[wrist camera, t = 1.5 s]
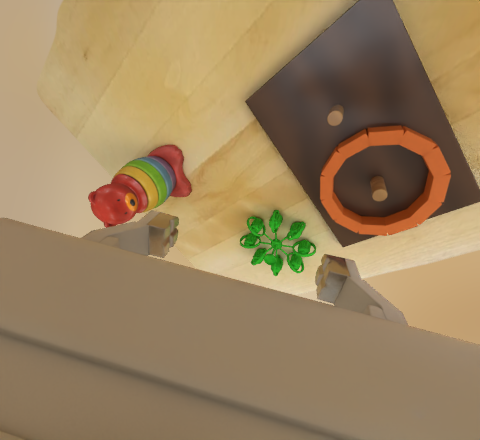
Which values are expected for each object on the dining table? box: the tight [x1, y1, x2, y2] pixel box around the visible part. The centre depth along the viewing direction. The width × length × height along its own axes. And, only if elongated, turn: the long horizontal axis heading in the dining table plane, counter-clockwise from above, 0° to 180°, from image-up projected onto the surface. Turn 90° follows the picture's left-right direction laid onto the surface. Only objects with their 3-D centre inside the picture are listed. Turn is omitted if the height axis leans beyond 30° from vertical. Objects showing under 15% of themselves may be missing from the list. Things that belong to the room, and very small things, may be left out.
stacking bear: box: [88, 145, 192, 228], centre depth 45 cm, size 11×10×18 cm
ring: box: [320, 125, 451, 236], centre depth 37 cm, size 16×16×3 cm
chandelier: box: [240, 210, 316, 276], centre depth 48 cm, size 15×15×7 cm
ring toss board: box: [245, 0, 480, 247], centre depth 35 cm, size 20×30×6 cm, turn 39°
